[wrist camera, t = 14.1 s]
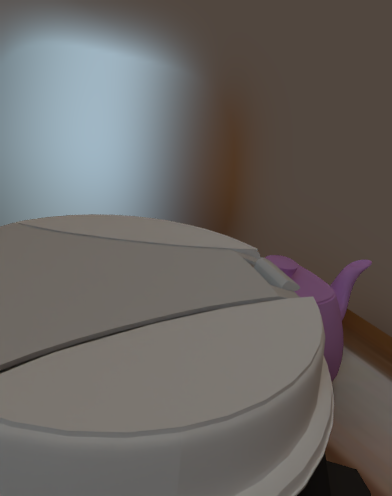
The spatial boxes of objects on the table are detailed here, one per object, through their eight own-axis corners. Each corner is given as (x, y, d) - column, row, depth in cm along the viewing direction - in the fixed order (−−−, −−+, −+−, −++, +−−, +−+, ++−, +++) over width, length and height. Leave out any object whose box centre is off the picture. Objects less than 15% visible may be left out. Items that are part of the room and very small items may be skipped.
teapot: (202, 448, 26) (231, 312, 22) (149, 338, 37) (161, 233, 33) (386, 393, 35) (433, 287, 30) (298, 317, 46) (324, 231, 41)
